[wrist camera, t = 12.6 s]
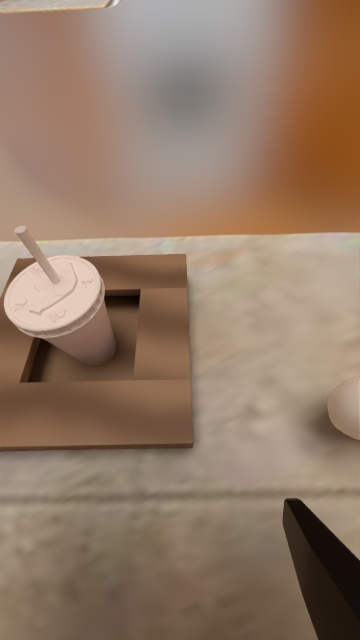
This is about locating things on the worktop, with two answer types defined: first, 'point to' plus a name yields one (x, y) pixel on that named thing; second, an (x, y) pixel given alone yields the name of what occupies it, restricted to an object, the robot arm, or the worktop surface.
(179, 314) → the walnut box
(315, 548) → the robot arm
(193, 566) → the worktop surface
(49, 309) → the smoothie
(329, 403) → the white curved piece
